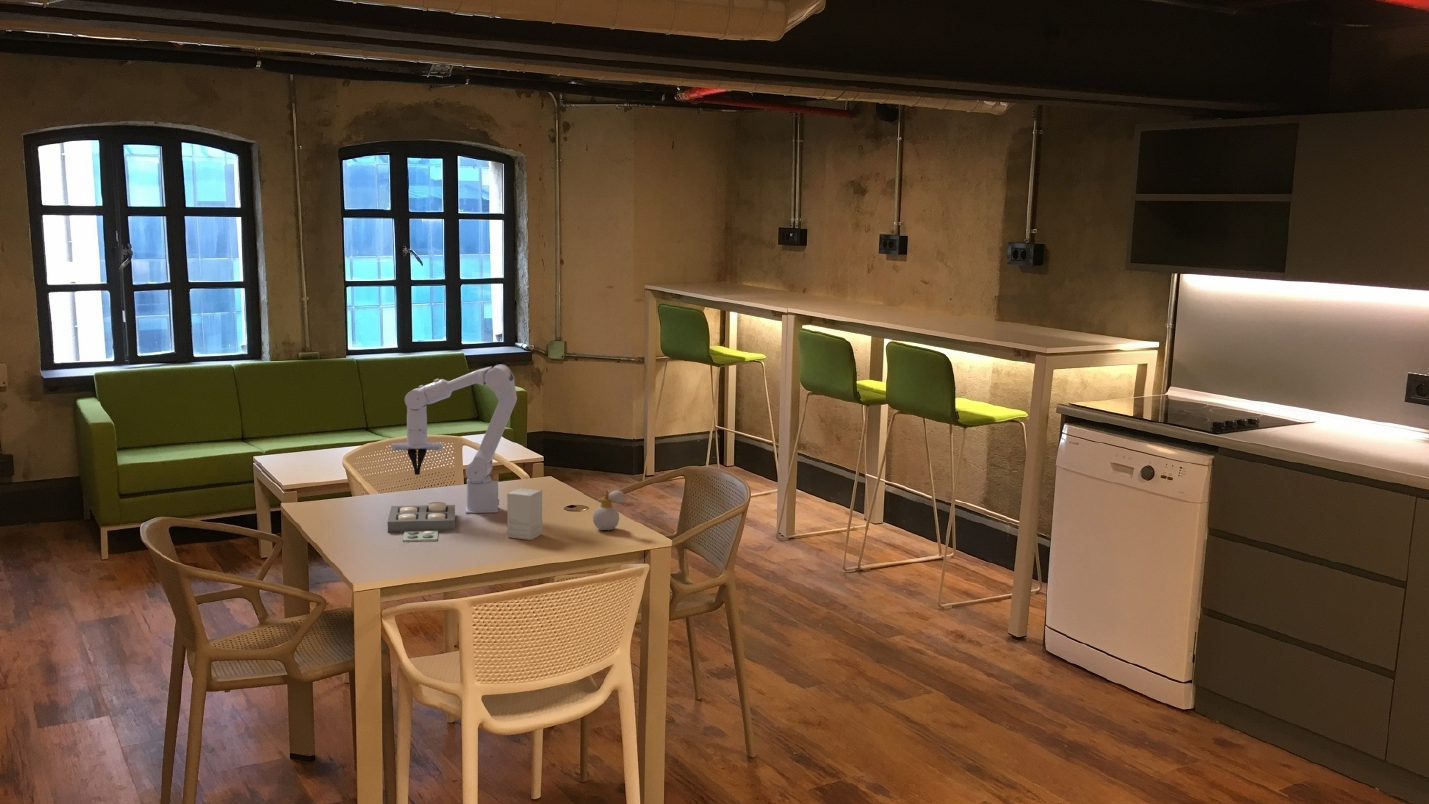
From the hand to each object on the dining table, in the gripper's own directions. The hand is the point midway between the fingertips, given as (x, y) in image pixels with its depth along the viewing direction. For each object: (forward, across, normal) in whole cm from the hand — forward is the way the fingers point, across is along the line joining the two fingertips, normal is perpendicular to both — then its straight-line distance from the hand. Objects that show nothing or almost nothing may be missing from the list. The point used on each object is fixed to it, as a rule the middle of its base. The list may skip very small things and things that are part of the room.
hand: (417, 474), depth 349 cm
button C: (+10, -2, -14) cm, 17 cm away
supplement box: (+11, +30, -34) cm, 47 cm away
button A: (+10, -2, -22) cm, 24 cm away
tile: (+10, +2, -32) cm, 34 cm away
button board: (+10, +2, -18) cm, 21 cm away
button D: (+8, +6, -14) cm, 17 cm away
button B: (+10, +6, -22) cm, 25 cm away
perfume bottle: (+11, +54, -30) cm, 63 cm away
